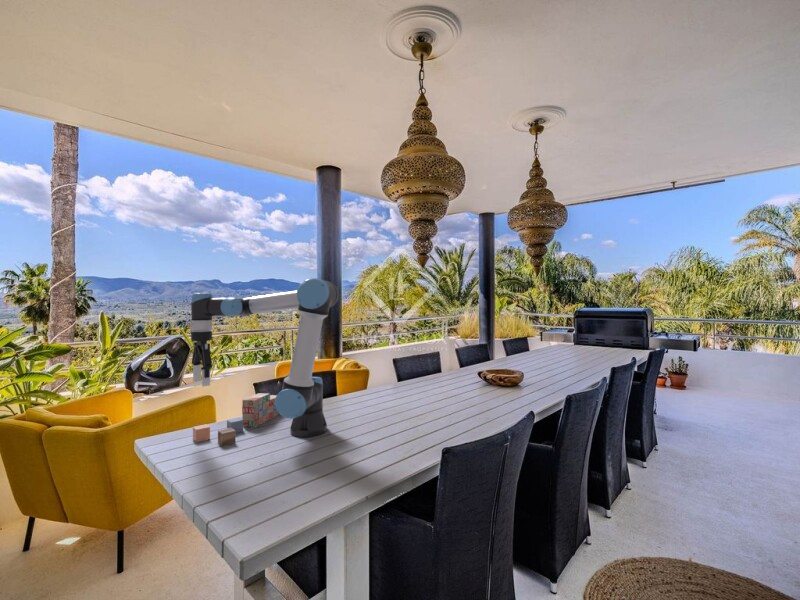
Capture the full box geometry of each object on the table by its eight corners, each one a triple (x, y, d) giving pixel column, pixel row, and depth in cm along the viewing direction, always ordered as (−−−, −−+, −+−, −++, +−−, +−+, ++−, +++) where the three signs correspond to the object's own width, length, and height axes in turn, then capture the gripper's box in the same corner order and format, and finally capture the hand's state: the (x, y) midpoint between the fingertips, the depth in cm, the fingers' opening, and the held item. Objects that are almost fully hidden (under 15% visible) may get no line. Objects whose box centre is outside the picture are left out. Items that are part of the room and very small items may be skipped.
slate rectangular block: (243, 431, 154) (243, 420, 154) (230, 434, 150) (230, 422, 150) (239, 429, 157) (239, 417, 157) (227, 431, 154) (227, 419, 154)
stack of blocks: (269, 413, 181) (269, 388, 181) (280, 414, 180) (280, 389, 180) (242, 426, 160) (242, 399, 160) (254, 427, 159) (254, 399, 159)
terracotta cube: (209, 439, 145) (209, 426, 145) (196, 442, 141) (196, 429, 142) (206, 436, 148) (206, 424, 149) (192, 439, 145) (192, 426, 145)
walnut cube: (235, 443, 140) (235, 430, 140) (221, 446, 137) (221, 433, 137) (231, 440, 144) (231, 427, 144) (217, 443, 140) (217, 430, 140)
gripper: (184, 330, 153) (183, 380, 152) (199, 332, 134) (199, 389, 134) (203, 329, 158) (203, 377, 157) (221, 331, 139) (220, 386, 139)
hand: (201, 383), depth 145 cm, fingers open, 13 cm apart
